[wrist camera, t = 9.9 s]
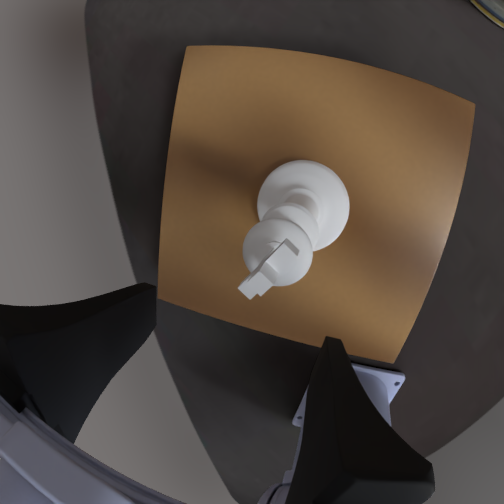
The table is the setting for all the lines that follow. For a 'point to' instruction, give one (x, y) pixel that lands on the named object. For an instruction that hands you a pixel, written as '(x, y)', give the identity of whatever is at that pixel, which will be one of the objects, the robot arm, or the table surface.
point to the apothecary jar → (492, 10)
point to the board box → (332, 156)
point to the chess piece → (292, 224)
